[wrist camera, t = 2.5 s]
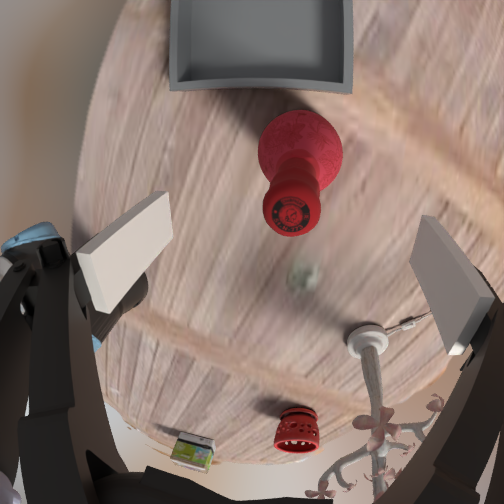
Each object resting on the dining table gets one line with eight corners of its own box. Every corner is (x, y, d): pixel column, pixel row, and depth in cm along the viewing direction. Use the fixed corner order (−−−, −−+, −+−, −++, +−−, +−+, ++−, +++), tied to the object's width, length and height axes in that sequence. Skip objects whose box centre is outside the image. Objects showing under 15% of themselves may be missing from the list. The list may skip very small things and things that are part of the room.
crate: (186, 91, 40) (169, 91, 34) (189, -34, 27) (175, -47, 22) (346, 94, 36) (352, 93, 31) (343, -39, 24) (347, -55, 18)
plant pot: (271, 416, 81) (265, 448, 71) (292, 400, 74) (287, 436, 64) (306, 426, 82) (303, 457, 71) (329, 411, 75) (327, 445, 64)
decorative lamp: (422, 270, 47) (491, 478, 13) (440, 343, 55) (474, 499, 21) (295, 322, 59) (265, 519, 24) (337, 380, 66) (328, 530, 32)
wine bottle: (264, 163, 44) (195, 268, 18) (276, 102, 39) (213, 106, 13) (325, 178, 43) (346, 305, 17) (341, 118, 38) (405, 153, 12)
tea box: (214, 439, 100) (204, 468, 87) (216, 446, 105) (207, 474, 92) (180, 430, 102) (169, 458, 90) (184, 439, 107) (174, 465, 95)
